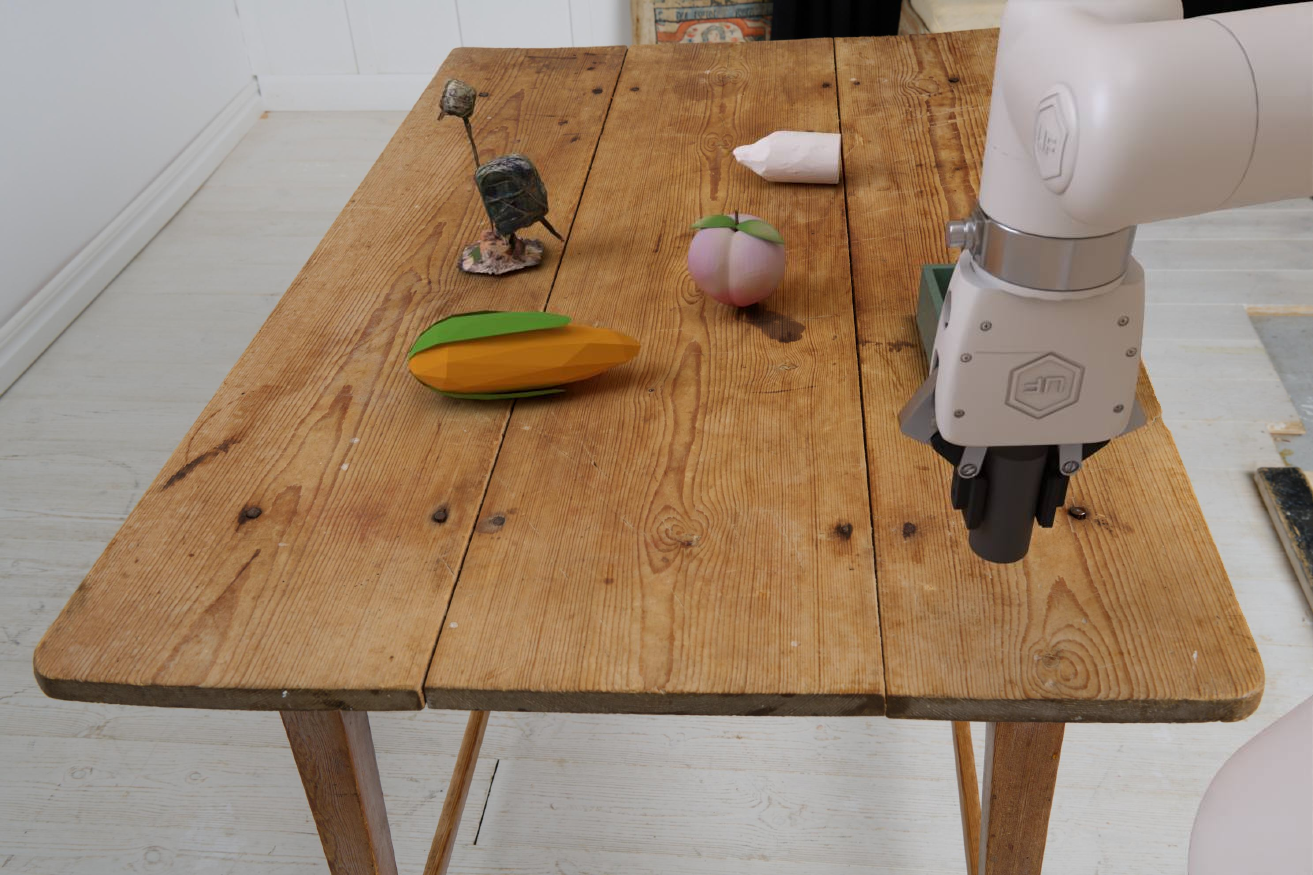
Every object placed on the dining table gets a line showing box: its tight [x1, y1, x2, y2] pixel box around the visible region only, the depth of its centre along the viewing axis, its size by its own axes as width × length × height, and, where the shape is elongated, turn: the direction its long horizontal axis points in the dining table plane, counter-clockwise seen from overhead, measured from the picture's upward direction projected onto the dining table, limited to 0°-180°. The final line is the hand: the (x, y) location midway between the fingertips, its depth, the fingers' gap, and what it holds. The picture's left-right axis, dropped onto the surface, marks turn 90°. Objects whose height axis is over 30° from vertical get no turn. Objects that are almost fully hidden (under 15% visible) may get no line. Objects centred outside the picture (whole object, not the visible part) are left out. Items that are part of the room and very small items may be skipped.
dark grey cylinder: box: [967, 445, 1049, 565], centre depth 63 cm, size 4×4×8 cm
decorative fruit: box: [686, 209, 787, 308], centre depth 99 cm, size 9×8×10 cm
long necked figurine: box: [436, 77, 566, 276], centre depth 105 cm, size 8×11×20 cm
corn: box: [407, 309, 642, 401], centre depth 91 cm, size 7×8×20 cm
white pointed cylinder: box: [732, 130, 842, 185], centre depth 120 cm, size 6×12×6 cm, turn 79°
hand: (1004, 511), depth 64 cm, fingers closed on dark grey cylinder, 3 cm apart
